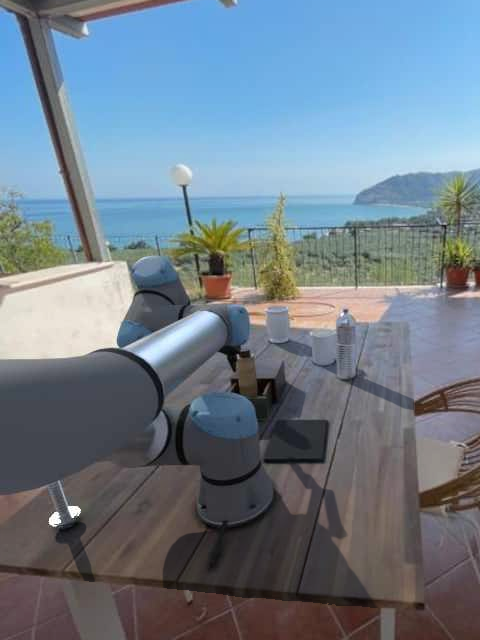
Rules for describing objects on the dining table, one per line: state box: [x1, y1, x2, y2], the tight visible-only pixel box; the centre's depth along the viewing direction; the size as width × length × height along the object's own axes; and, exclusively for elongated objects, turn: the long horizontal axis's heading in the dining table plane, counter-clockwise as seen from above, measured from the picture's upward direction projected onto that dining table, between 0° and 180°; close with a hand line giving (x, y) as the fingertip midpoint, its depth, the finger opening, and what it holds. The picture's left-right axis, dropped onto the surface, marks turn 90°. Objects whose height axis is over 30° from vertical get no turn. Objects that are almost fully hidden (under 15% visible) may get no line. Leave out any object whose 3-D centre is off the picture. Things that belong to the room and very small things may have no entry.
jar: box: [264, 305, 291, 344], centre depth 173 cm, size 11×10×15 cm
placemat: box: [263, 419, 328, 463], centre depth 102 cm, size 18×14×1 cm
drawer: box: [228, 381, 274, 421], centre depth 113 cm, size 19×12×7 cm, turn 1°
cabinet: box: [229, 358, 286, 404], centre depth 126 cm, size 16×14×9 cm
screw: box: [47, 480, 81, 530], centre depth 73 cm, size 13×5×5 cm
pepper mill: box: [236, 347, 258, 397], centre depth 112 cm, size 5×5×18 cm
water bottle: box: [335, 307, 357, 381], centre depth 135 cm, size 7×7×25 cm
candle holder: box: [309, 328, 336, 366], centre depth 150 cm, size 10×10×12 cm
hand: (208, 371), depth 102 cm, fingers open, 13 cm apart
